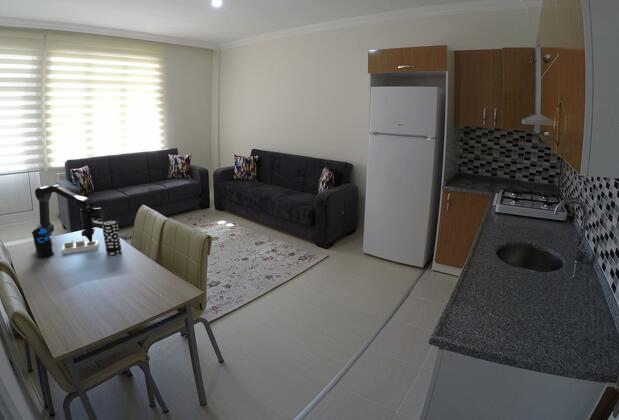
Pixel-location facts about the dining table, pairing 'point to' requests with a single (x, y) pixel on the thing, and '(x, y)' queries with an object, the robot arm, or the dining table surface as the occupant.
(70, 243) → the key near
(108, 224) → the spotted tube
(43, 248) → the aerosol can
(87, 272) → the dining table surface
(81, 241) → the key middle
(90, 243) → the key far
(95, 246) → the keypad
